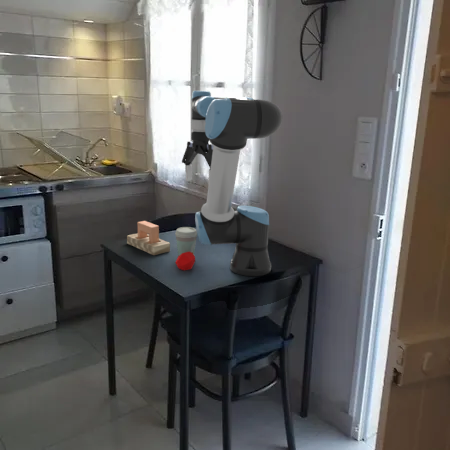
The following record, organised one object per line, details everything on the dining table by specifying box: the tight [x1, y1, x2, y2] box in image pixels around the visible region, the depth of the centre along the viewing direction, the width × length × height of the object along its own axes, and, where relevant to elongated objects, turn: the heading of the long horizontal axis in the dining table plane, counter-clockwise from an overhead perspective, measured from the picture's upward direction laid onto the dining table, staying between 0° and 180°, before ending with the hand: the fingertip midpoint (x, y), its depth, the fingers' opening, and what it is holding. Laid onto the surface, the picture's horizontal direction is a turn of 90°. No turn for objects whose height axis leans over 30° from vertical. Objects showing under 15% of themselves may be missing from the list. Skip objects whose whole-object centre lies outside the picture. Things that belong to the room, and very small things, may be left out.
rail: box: [126, 232, 171, 256], centre depth 199 cm, size 19×8×4 cm, turn 44°
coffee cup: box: [174, 226, 198, 257], centre depth 185 cm, size 9×8×12 cm
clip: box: [137, 220, 160, 244], centre depth 198 cm, size 10×4×10 cm, turn 44°
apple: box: [175, 252, 196, 271], centre depth 177 cm, size 7×7×8 cm
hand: (200, 183), depth 198 cm, fingers open, 13 cm apart
